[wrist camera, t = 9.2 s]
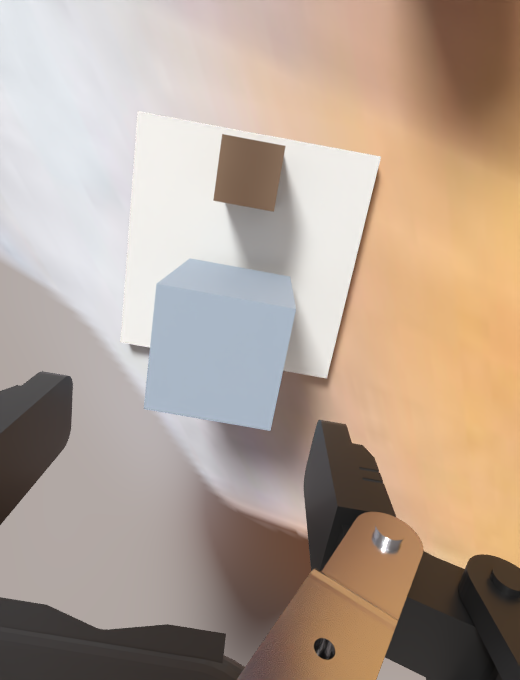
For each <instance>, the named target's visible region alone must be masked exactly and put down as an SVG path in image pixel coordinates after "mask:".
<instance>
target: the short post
mask: <svg viewBox="0 0 520 680" xmlns="http://www.w3.org/2000/svg"><path fill="white" fill-rule="evenodd" d="M284 152H285V146H284V145H278V144H273V143H268V142H262V141H257V140H252V139H246V138H241V137H236V136H230V135H225V134H222V139H221V147H220V154H219V162H218V169H217V177H216V184H215V192H214V199H213V201H218V202H223V203H228V204H234V205H239V206H245V207H250V208H256V209H261V210H267V211H272V212H274V208H275V203H276V197H277V191H278V186H279V180H280V175H281V169H282V163H283V158H284Z"/></svg>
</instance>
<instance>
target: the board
mask: <svg viewBox="0 0 520 680" xmlns="http://www.w3.org/2000/svg"><path fill="white" fill-rule="evenodd" d="M222 134H225V135H230V136H236V137H241V138H246V139H252V140H257V141H262V142H268V143H273V144H278V145H284V146H285V152H284V158H283V163H282V169H281V175H280V180H279V186H278V191H277V197H276V203H275V208H274V212H272V211H267V210H261V209H256V208H250V207H245V206H239V205H234V204H228V203H223V202H218V201H213V199H214V192H215V184H216V177H217V169H218V162H219V154H220V147H221V139H222ZM380 158H381V157H380V156H375V155H369V154H364V153H359V152H353V151H348V150H343V149H337V148H332V147H327V146H321V145H316V144H311V143H306V142H300V141H295V140H290V139H284V138H279V137H274V136H268V135H263V134H258V133H252V132H247V131H242V130H236V129H231V128H226V127H220V126H215V125H210V124H204V123H199V122H194V121H188V120H183V119H178V118H172V117H167V116H162V115H156V114H151V113H146V112H140V111H138V113H137V126H136V139H135V153H134V166H133V180H132V193H131V206H130V220H129V233H128V246H127V260H126V273H125V287H124V300H123V313H122V327H121V340H120V342H121V343H127V344H132V345H138V346H144V347H149V348H150V343H151V333H152V323H153V313H154V303H155V294H156V284H157V283H158V282H159V281H161V280H162V279H163V278H165V277H166V276H167V275H169V274H170V273H171V272H173V271H174V270H175V269H177V268H178V267H179V266H180V265H182V264H183V263H184V262H186V261H187V260H188V259H190V258H191V259H196V260H202V261H207V262H213V263H218V264H224V265H229V266H235V267H240V268H246V269H251V270H257V271H262V272H268V273H273V274H279V275H284V276H290V278H291V284H292V289H293V295H294V300H295V306H296V312H295V317H294V321H293V326H292V331H291V336H290V340H289V345H288V350H287V355H286V359H285V364H284V369H283V371H287V372H293V373H298V374H304V375H310V376H316V377H321V378H327V375H328V371H329V367H330V363H331V359H332V355H333V351H334V347H335V343H336V338H337V334H338V330H339V326H340V322H341V318H342V314H343V310H344V306H345V302H346V298H347V293H348V289H349V285H350V281H351V277H352V273H353V269H354V265H355V261H356V257H357V253H358V248H359V244H360V240H361V236H362V232H363V228H364V224H365V220H366V216H367V212H368V208H369V203H370V199H371V195H372V191H373V187H374V183H375V179H376V175H377V171H378V167H379V163H380Z"/></svg>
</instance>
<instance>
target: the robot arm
mask: <svg viewBox="0 0 520 680" xmlns="http://www.w3.org/2000/svg"><path fill="white" fill-rule="evenodd" d="M72 390H73V383H72V379H71V377H70V376H66V375H60V374H55V373H48V372H43V371H42V372H39V373H38V374H36V375H35V376H34V377H32V378H31V379H30V380H29V381H27V382H26V383H24V384H23V385H22V386H18V385H16V386H14V387H11V388H8V389H5V390H2V391H0V525H1V523H2V522H3V521H4V520H5V518H6V517H7V516H8V515H9V514H10V513H11V511H12V510H13V509H14V508H15V507H16V505H17V504H18V503H19V502H20V501H21V499H22V498H23V497H24V496H25V495H26V493H27V492H28V491H29V490H30V489H31V487H32V486H33V485H34V484H35V483H36V481H37V480H38V479H39V478H40V476H41V475H42V474H43V473H44V472H45V471H46V469H47V468H48V467H49V466H50V465H51V463H52V462H53V461H54V460H55V459H56V457H57V456H58V455H59V454H60V452H61V451H62V450H63V449H64V447H65V446H66V443H67V441H68V439H69V435H70V431H71V416H72ZM304 497H305V508H306V519H307V530H308V540H309V551H310V561H311V573H310V574H309V575H308V577H307V578H306V580H305V581H304V583H303V584H302V586H301V587H300V588H299V590H298V591H297V593H296V594H295V596H294V597H293V598H292V600H291V602H290V603H289V604H288V606H287V607H286V609H285V610H284V612H283V613H282V614H281V616H280V617H279V619H278V620H277V622H276V623H275V625H274V626H273V627H272V629H271V630H270V632H269V633H268V635H267V636H266V638H265V639H264V640H263V642H262V644H261V645H260V646H259V648H258V649H257V651H256V652H255V653H254V655H253V656H252V658H251V659H250V661H249V662H248V664H247V665H246V667H244V666H242V665H241V664H239V663H238V662H236V661H235V660H233V659H230V658H228V657H226V656H224V655H223V654H224V645H225V637H226V634H224V633H218V632H211V631H205V630H199V629H193V628H187V627H180V626H174V625H156V626H145V627H134V628H123V629H111V630H102V629H98V628H95V627H93V626H91V625H88V624H87V623H84V622H82V621H80V620H78V619H76V618H73V617H72V616H69V615H67V614H65V613H63V612H60V611H59V610H57V609H54V608H52V607H50V606H48V605H44V604H38V603H31V602H25V601H18V600H12V599H6V598H0V680H376V679H377V676H378V673H379V671H380V668H381V665H382V663H383V660H384V657H386V658H388V659H390V660H392V661H394V662H396V663H398V664H400V665H402V666H404V667H406V668H408V669H410V670H412V671H414V672H416V673H418V674H420V675H422V676H424V677H426V680H520V568H518V567H517V566H515V565H513V564H512V563H510V562H508V561H506V560H503V559H501V558H498V557H495V556H491V555H476V556H473V557H472V558H470V559H469V561H468V563H467V565H466V568H465V569H463V568H460V567H458V566H455V565H453V564H450V563H448V562H446V561H443V560H441V559H438V558H436V557H434V556H432V555H430V554H428V553H426V552H424V551H423V545H422V542H421V540H420V538H419V536H418V535H417V533H416V532H415V531H414V530H413V529H412V528H411V527H410V526H409V525H407V524H406V523H405V522H403V521H402V520H400V519H398V518H396V515H395V512H394V510H393V507H392V504H391V502H390V499H389V496H388V494H387V491H386V488H385V485H384V484H383V480H382V477H381V475H380V473H379V469H378V467H377V464H376V461H375V458H374V457H373V456H372V455H371V454H370V453H369V452H368V450H367V449H366V448H365V447H364V446H363V445H358V444H352V442H351V439H350V436H349V432H348V429H347V426H346V424H341V423H335V422H329V421H323V420H319V421H318V423H317V426H316V429H315V433H314V437H313V441H312V445H311V450H310V454H309V458H308V462H307V466H306V471H305V477H304Z"/></svg>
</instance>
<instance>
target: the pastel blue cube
mask: <svg viewBox="0 0 520 680" xmlns="http://www.w3.org/2000/svg"><path fill="white" fill-rule="evenodd" d="M295 312H296V306H295V300H294V295H293V289H292V284H291V278H290V276H284V275H279V274H273V273H268V272H262V271H257V270H251V269H246V268H240V267H235V266H229V265H224V264H218V263H213V262H207V261H202V260H196V259H191V258H190V259H188V260H187V261H186V262H184V263H183V264H182V265H180V266H179V267H178V268H177V269H175V270H174V271H173V272H171V273H170V274H169V275H167V276H166V277H165V278H163V279H162V280H161V281H159V282H158V283H157V284H156V294H155V303H154V313H153V323H152V333H151V343H150V353H149V363H148V373H147V383H146V393H145V403H144V409H147V410H153V411H158V412H164V413H170V414H176V415H181V416H187V417H193V418H199V419H205V420H210V421H216V422H222V423H228V424H233V425H239V426H245V427H251V428H257V429H262V430H268V431H271V426H272V421H273V416H274V412H275V407H276V402H277V397H278V393H279V388H280V383H281V378H282V374H283V369H284V364H285V359H286V355H287V350H288V345H289V340H290V336H291V331H292V326H293V321H294V317H295Z"/></svg>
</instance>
